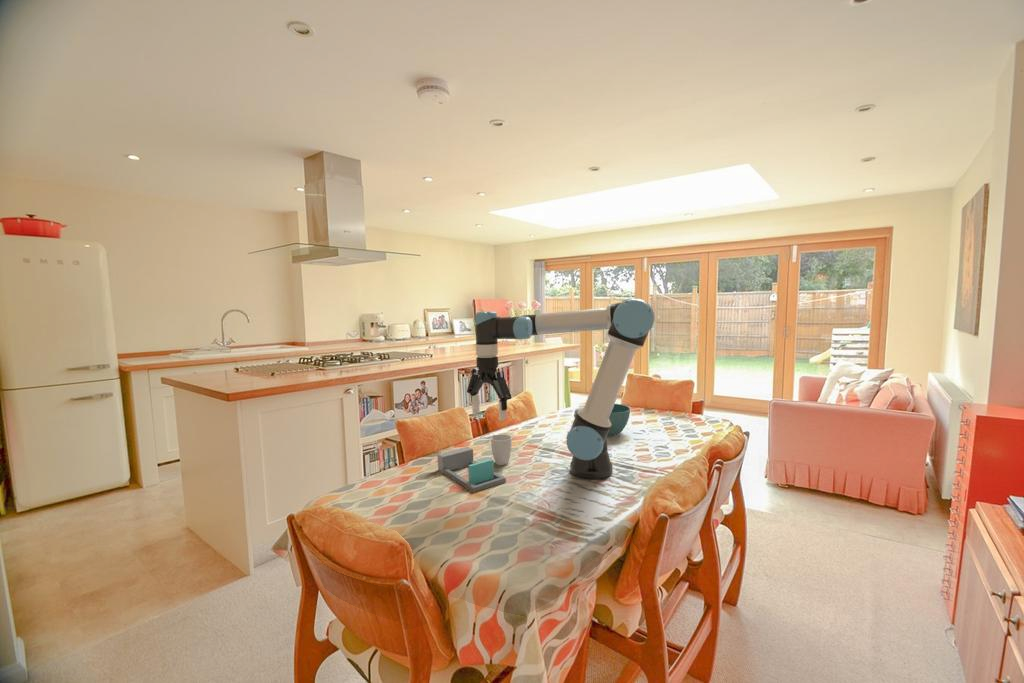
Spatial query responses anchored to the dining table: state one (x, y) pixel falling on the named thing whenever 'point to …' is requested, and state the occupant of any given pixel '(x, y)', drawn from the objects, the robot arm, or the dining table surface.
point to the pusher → (481, 471)
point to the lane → (460, 460)
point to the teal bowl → (618, 419)
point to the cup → (501, 448)
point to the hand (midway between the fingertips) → (488, 416)
